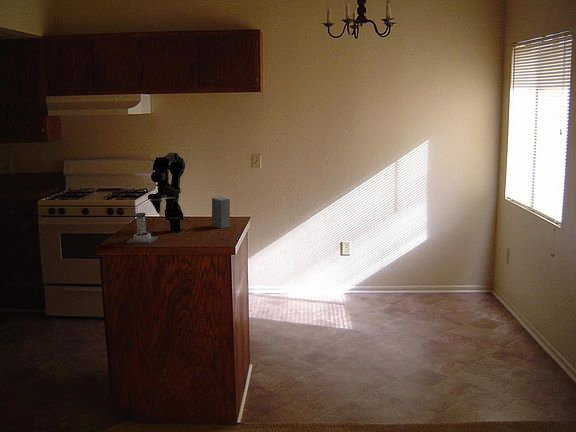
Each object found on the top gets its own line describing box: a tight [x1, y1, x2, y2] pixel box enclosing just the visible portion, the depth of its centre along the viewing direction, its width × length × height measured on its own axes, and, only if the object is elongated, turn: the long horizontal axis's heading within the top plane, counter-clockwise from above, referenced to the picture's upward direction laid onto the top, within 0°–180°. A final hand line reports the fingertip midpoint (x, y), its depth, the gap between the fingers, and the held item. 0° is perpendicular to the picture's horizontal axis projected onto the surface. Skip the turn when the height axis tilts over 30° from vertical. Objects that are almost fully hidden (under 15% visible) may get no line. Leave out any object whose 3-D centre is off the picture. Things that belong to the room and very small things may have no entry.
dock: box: [126, 232, 159, 244], centre depth 320 cm, size 11×12×3 cm
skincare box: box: [211, 196, 231, 229], centre depth 345 cm, size 8×7×16 cm
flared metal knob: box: [134, 212, 148, 236], centre depth 319 cm, size 5×5×13 cm
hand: (164, 213), depth 320 cm, fingers open, 9 cm apart
